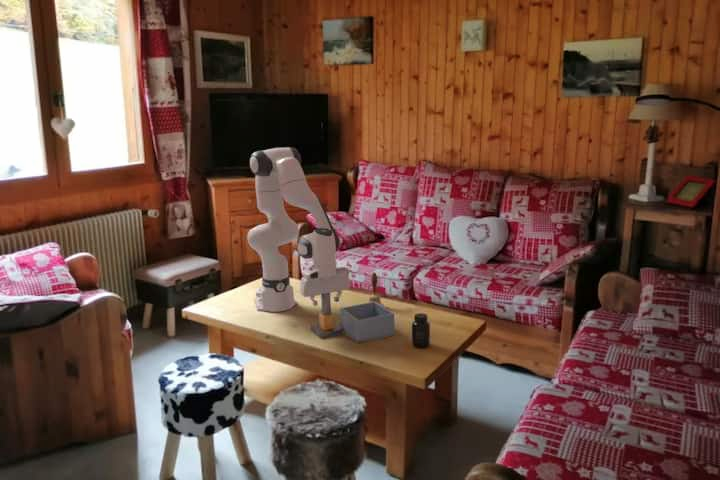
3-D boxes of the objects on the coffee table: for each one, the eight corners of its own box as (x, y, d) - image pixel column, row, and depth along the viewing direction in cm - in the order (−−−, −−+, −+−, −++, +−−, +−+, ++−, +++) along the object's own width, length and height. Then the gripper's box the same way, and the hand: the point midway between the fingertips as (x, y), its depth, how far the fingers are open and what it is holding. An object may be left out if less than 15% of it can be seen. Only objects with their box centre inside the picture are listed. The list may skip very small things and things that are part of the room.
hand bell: (361, 307, 263) (361, 272, 259) (375, 302, 268) (375, 269, 264) (374, 312, 257) (373, 277, 253) (388, 307, 262) (387, 273, 258)
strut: (319, 326, 237) (318, 291, 233) (329, 324, 238) (328, 290, 235) (323, 330, 233) (322, 295, 229) (334, 327, 235) (333, 293, 231)
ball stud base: (310, 329, 238) (310, 315, 237) (333, 325, 243) (332, 310, 241) (320, 338, 230) (319, 323, 228) (343, 333, 234) (343, 318, 232)
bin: (340, 328, 239) (339, 308, 237) (375, 321, 246) (374, 301, 243) (358, 343, 225) (357, 321, 223) (394, 335, 232) (394, 313, 230)
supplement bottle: (433, 344, 223) (433, 314, 220) (422, 350, 218) (423, 320, 215) (418, 339, 227) (419, 310, 224) (408, 345, 222) (408, 315, 219)
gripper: (345, 264, 237) (346, 296, 240) (297, 271, 228) (299, 305, 231) (352, 268, 232) (353, 301, 235) (303, 276, 223) (305, 310, 226)
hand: (326, 303), depth 233 cm, fingers open, 8 cm apart
